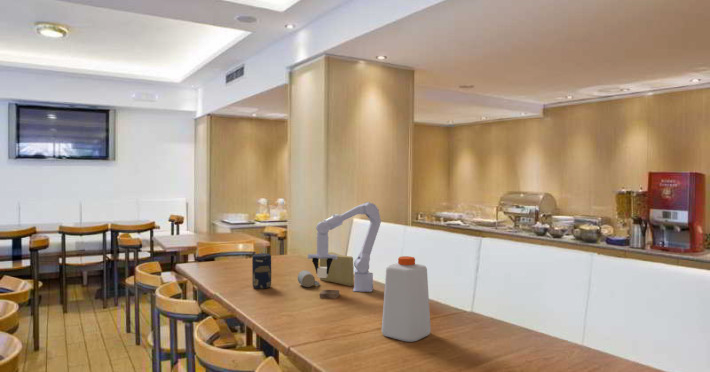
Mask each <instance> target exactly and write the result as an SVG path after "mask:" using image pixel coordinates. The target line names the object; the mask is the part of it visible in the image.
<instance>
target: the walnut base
mask: <svg viewBox="0 0 710 372" xmlns="http://www.w3.org/2000/svg"><path fill="white" fill-rule="evenodd" d="M339 295H340V289H339V290H338V289H337V290H336V289H322V290H321V292H319V299H332V300H333V299H335V300H336V299H338V297H339Z"/></svg>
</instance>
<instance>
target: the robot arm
mask: <svg viewBox="0 0 710 372" xmlns="http://www.w3.org/2000/svg"><path fill="white" fill-rule="evenodd" d="M356 215H365V216H366V217H367V219H368V221H369V222H370V223H369V226H368V229H367V232H366V236H365V238H364V241H363V245H362V247H361V251H360V252H359V253H358V256H357V258H356V259H355V260H354V261H353V267H354V268H355V270H354V277H353V280H354V285H353V289H352V292H368V293H370V292H371V293H372V292H373V289H374V273H373V272H370V271H369V270H370V260H371V253H372V251H373V247H374V244H375V241H376V238H377V237H378V236H377V235H378V233H379V229H380V227H381V224H382V220H381V215H380V210H379V208H378V207H377V205H376V204H375V203H373V202H370V201H369V202H368V201H367V202H364V203H361V204H359V205H357V206H354V207H352V208H350V209H349V210H347V211H345V212H343V213H341V214H337V213H336V214H335V213H334V214H331V217H328V218H327V219H326V218H324V219H323V221H319V222H318V223H317V224H316V227H315V228H316V229H315V230H316V231H317V232H316V253H314V254H313V253H312V254H311V253H308V254H307V259H309V260H311V259H312V260H311V262H312V263H313V266H314V268H315V274H317V268H318V267H319V263H320V259H327V274H328V273H329V268H330V265H331V263H332V260H333V259H337V255H331V254H328V253H329V231H332V230H334V229H336V228H337V227H340V226H341V225H343V222H344V221H346V220H348V219H351V218H352V217H354V216H356ZM325 257H326V258H325Z"/></svg>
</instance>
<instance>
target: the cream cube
mask: <svg viewBox="0 0 710 372" xmlns="http://www.w3.org/2000/svg"><path fill="white" fill-rule="evenodd" d="M327 276H328V274H327V267H320V266H318V268H317V275H316V278H319V279H320V278H327Z"/></svg>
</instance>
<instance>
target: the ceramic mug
mask: <svg viewBox="0 0 710 372" xmlns="http://www.w3.org/2000/svg"><path fill="white" fill-rule="evenodd" d="M297 282H298V283H299V284H300V285H301V286H302V287H304V288H311V287H313V286H317V287H318V286H319V285H320V282H319V281H317V280H316V278H315V276H314V274H313V273H311V272H310V271H308V270H304V269H303V270H301V271H299V273H298V275H297Z"/></svg>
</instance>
